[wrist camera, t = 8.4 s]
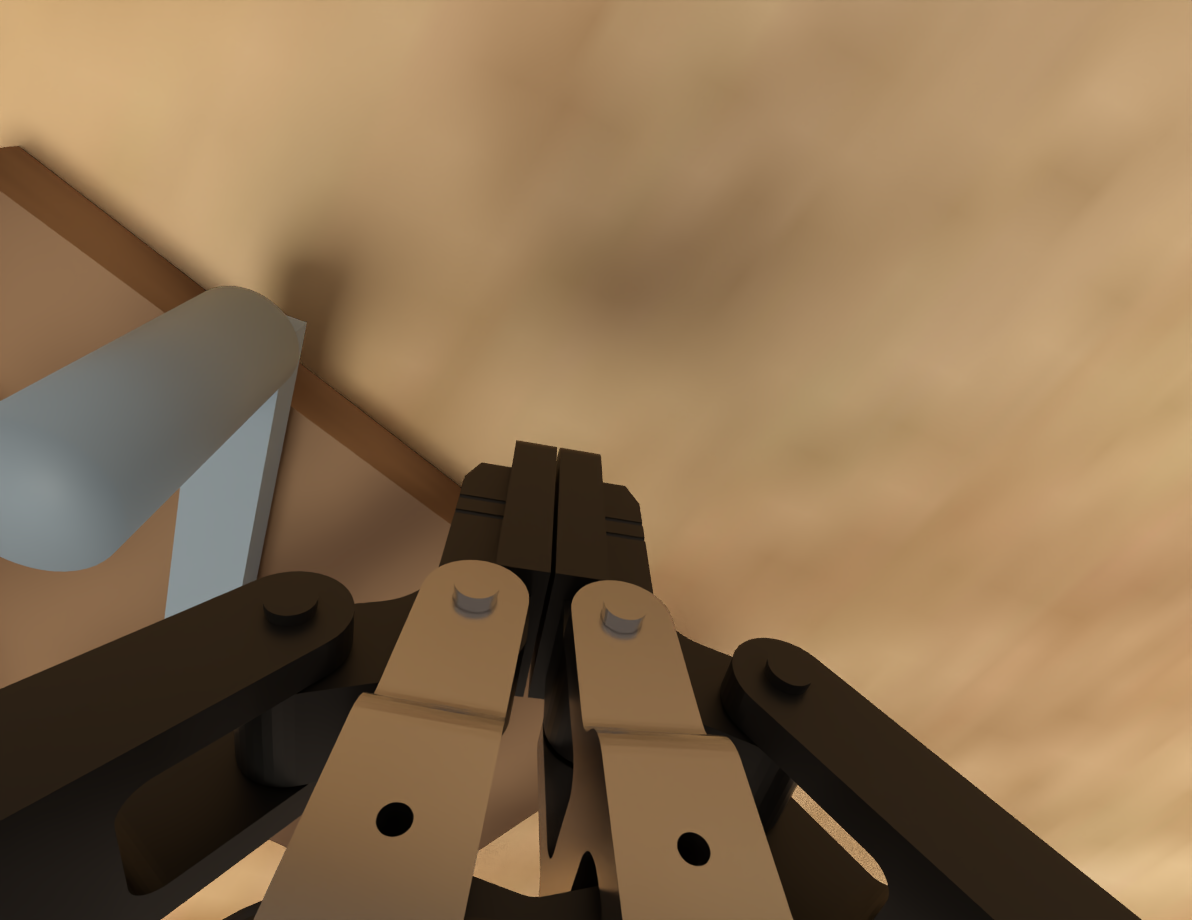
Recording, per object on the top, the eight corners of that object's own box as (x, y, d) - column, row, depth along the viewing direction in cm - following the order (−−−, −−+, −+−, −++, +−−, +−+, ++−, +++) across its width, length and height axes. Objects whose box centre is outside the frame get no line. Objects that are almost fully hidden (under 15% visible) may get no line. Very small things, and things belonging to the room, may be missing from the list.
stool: (686, 661, 24) (748, 980, 16) (412, 853, 30) (344, 1175, 21) (18, 146, 16) (-680, 211, 7) (-203, 544, 21) (-764, 869, 12)
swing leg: (228, 785, 23) (88, 1064, 17) (149, 769, 23) (-28, 1050, 16) (330, 296, 15) (139, 456, 9) (212, 254, 15) (-89, 389, 8)
